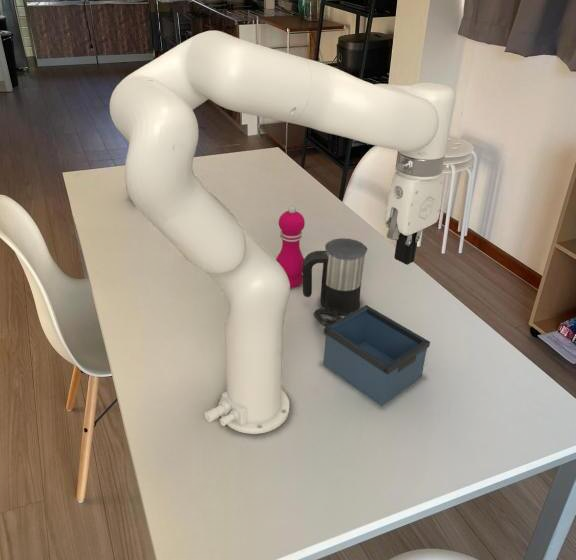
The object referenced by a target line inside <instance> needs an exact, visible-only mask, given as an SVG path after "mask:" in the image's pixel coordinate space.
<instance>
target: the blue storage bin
mask: <svg viewBox="0 0 576 560" xmlns="http://www.w3.org/2000/svg"><path fill="white" fill-rule="evenodd" d="M323 334H325V341H324V351H323V352H324V353H323V364H322V365H323V367H326V368H327V369H328V370H330V371H331V372H333V373H334V374H335V375H336V376H338V377H340V378H341V379H343V380H344V381H346V382H347V383H349V385H351V386H353V387H354V388H356V390H358V391H360V392H361V393H362V394H364V395H365V396H367V397H368V398H369V399H371V400H372V401H374V402H375V403H377V404H378V405H379V406H383V405H385V404H386V403H387V402H390V400H393V398H395V397H397V396H398V395H399V394H400V393H401V392H403V391H405V390H406V389H407V388H409V387H410V386H412V385H413V384H415V383H416V382H417V381H419V380H420V379H421V378H422V376H423V372H424V371H423V370H424V366H425V360H426V355H427V350H428V349H429V348H430V346H431V345H430V344H431V341H429V340H428V339H426V338H424V337H423V336H421V335H419V334H418V333H416V332H414V331H412V330H410V329H409V328H407V327H405V326H403V325H402V324H400V323H398V322H397V321H395V320H393V319H392V318H390V317H388V316H386V314H385V315H384V314H383V313H382V312H379V311H378V310H376V309H375V308H372V307H371V306H369V305H368V304H365V305H364V306H362V307H359V309H358V310H356V311H354V312H353V313H350V314H346V316H343V317H342V319H340V320H338V321H336V322H334V323H332V324H331V325H329V326H327V327H325V326H324V327H323Z"/></svg>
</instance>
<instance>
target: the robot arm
mask: <svg viewBox="0 0 576 560" xmlns="http://www.w3.org/2000/svg"><path fill="white" fill-rule="evenodd" d="M208 100H210V101H211V102H213V103H214V104H216V105H218V106H219V107H221V108H223V109H226V110H229V111H233V112H237V113H241V114H247V115H250V116H255V117H260V118H266V119H270V120H275V121H281V122H285V123H289V124H294V125H297V126H303V127H306V128H310V129H312V130H316V131H319V132H322V133H325V134H330V135H334V136H340V137H343V138H347V139H351V140H353V141H357V142H361V143H364V144H368V145H372V146H376V147H380V148H384V149H389V150H394V151H397V154H396V160H395V161H396V162H395V172H394V175H393V177H392V181H391V183H390V184H391V185H390V188H389V192H388V196H387V201H386V206H385V207H386V208H385V214H384V225H385V227H386V228H387V229H388V230H387V233H386V238H387V239H390V240H392V241H396V244H395V251H394V257H393V258H394V260H396V261H398V262H400V263H402V264H403V265H406V266H409V265H410V264H412V263H414V262H415V259H416V258H415V257H416V253H417V246H418V242H419V241H420V239H421V236H422V232H423V230H424V229H426V228H428V227H430V226H432V225H435V224H436V223H437V222H438V221H439V218H440V214H441V207H442V200H443V190H444V169H443V167H444V163H445V158H446V157H445V156H446V152H447V147H448V141H449V135H450V129H451V126H452V125H451V124H452V120H453V113H454V108H455V103H456V94H455V91H454V90H453V88H452V87H450V86H448V85H445V84H442V83H437V82H418V83H414V84H412V85H411V84H410V85H403V84H392V83H391V84H389V83H375V84H373V83H371V82H369V81H365V80H363V79H362V78H361V79H360V78H359V77H356V76H354V75H352V74H350V73H348V72H345V71H343V70H341V69H338V68H336V67H334V66H331V65H328V64H326V63H324V62H320V61H317V60H313V59H309V58H306V57H303V56H298V55H294V54H292V53H288V52H285V51H282V50H278V49H274V48H271V47H268V46H264V45H261V44H257V43H254V42H250V41H248V40H244V39H241V38H239V37H236V36H233V35H231V34H228V33H227V32H224V31H221V30H207V31H204V32H200V33H198V34H196V35H194V36H192V37H190V38H188V39H186V40H184V41H182V42H180V43H179V44H177V45H176V46H174V47H172V48H171V49H169V50H168V51H165V52H164V53H163V54H161V55H159V56H158V57H156V58H154V59H153V60H152V61H150V62H148V63H146V64H144V65H143V66H141V67H139V68H137V69H136V70H134V71H133V72H131V73H130V74H128V75H127V76H125V77H124V78H123V79H122V80H121V81H120V82H119V83H118V84H117V85H116V87H115V88H114V89H113V91H112V93H111V96H110V99H109V114H110V118H111V120H112V122H113V124H114V126H115V128H116V130H118V132H119V133H120V134H121V135H122V136H123V138H124V139H126V141H127V142H128V148H127V153H126V158H125V163H124V183H125V189H126V188H127V189H126V192H127V194H128V196H129V199H130V200H131V201H132V204H133V205H134V206H135V208H136V209H137V210H138V211H139V212H140V213H141V214H142V215H143V216H144V217H145V218H146V219H147V220H148V221H149V222H150V223H151V224H152V225H153V227H155V228H156V229H157V230H158V231H159V232H160V234H162V235H163V236H164V237H165V238H166V239H167V240H168V241H169V242H170V243H172V245H173V246H174V247H175V248H176V250H178V252H179V253H180V254H181V255H182V256H183V257H184V258H185V259H186V260H187V262H189V263H190V264H192V265H193V266H194V267H196V268H198V269H199V270H202V271H204V272H206V273H207V275H208V276H210V278H211V279H212V280H213V282H214V283H215V284H216V285H217V286H218V288H219V289H220V291H221V292H222V293H223V295H224V297H225V298H226V300H227V302H228V308H229V309H228V310H229V311H228V315H227V317H226V320H225V326H224V341H225V364H226V365H225V366H226V390H225V391H224V392H223V393H221V397H220V400H219V402H218V405H216V406H214V407H212V408H210V409H208V410H207V411H205V412H204V415H203V416H204V418H205V420H206V421H207V422H208V423H209V424H211V423H212V422H214V421H215V420H217V419H219V423H220V425H221V426H222V427H225V426H226V425H227V426H228V427H229V428H230V429H232V430H234V431H237V432H239V433H242V434H249V435H257V434H264V433H268V432H272V431H274V430H276V429H278V428H279V427H280V426H281V425H283V424H284V422H286V420H287V418H288V416H289V414H290V409H291V408H290V404H291V403H290V399H289V396H288V395H287V393H286V392H285V391H284V390H283V389H282V386H283V384H282V383H283V353H284V352H283V351H284V325H285V324H284V323H285V316H286V311H287V307H288V303H289V299H290V295H291V288H290V283H289V279H288V276H287V274H286V272H285V271H284V269H283V268H282V266H281V265H280V264H279V263H278V262H277V260H276V259H277V258H274V256H273V255H271V254H270V252H269V251H268V250H266V248H264V247H263V246H262V245H261V244H260V243H259V242H258V241H257V240H256V239H255V238H254V237H253V236H252V235H251V234H250V233H249V232H248V231H247V230H246V229H245V228H244V227H243V226H242V225H241V223H240V221H239V220H238V219H237V217H236V216H235V215H234V213H233V212H232V211H231V210H230V209H229V208H228V207H227V206H226V205H225V204H224V203H223V202H222V201H221V200H220V199H219V198H217V196H216V195H214V193H212V192H210V190H208V189H207V188H206V187H205V185H204V184H203V183H202V181H200V179H199V178H198V177H197V176H196V174H195V173H194V167H193V163H194V158H195V154H196V152H197V151H196V150H197V148H198V147H197V146H198V141H199V124H198V119H197V117H196V114H195V112H194V110H196V108H198V107H200V106H201V105H202V104H203V103H205V102H206V101H208Z"/></svg>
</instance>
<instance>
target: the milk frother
mask: <svg viewBox="0 0 576 560" xmlns="http://www.w3.org/2000/svg"><path fill="white" fill-rule="evenodd" d="M324 248H325V250H315V251H311V252H309V253H308V254H306V256H305V257H303V258H304V260H303V266H302V268H303V273H302V275H303V278H302V293H303V294H302V295H303V296H304V297H306V298H310V297H311V296H312V295H313V294H312V293H313V267H314V266H315V265H316V264H322V275H321V286H320V301H319V302H320V306H321V307H322V308H317V309H315V310H314V312H313V317H314V318H315V319H316V321H317V322H319V323H320V325H322V326H324V328H325V327H327V326H329V325H331V324H332V323H334V322H336V321H338V320H340V319H342V318H343V317H342V316H340V315H349V314H351V313H353V312H354V311H356V310H358V309H360V308H361V301H360V300H361V288H362V280H363V272H364V265H365V257H366V254H367V252H368V247H367V246H366V245H365V244H364V243H363V242H362V241H359V240H356V239H352V238H345V237H343V238H342V237H340V238H334V239H331V240H329V241H327V242H326V243H325V245H324ZM322 315H325V316H329V317H332V318H330V319H329V318H324V317H323V316H322Z"/></svg>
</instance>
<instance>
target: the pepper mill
mask: <svg viewBox="0 0 576 560" xmlns="http://www.w3.org/2000/svg"><path fill="white" fill-rule="evenodd" d="M305 221H306V220H305V217H304V216H303V214H302V213H301V212H298V211H297V208H296V206H294V205H290V206H289V207H288V209H287V211H284V212H283V213H282V214H281V215H280V216H279V218H278V227H279V229H280V239H281V241H282V242H281V243H282V244H281V245H282V246H281V249H280V251H279V253H278V255H277V256H276V258H275V259H276V260H277V262H278V263H279V264H280V265H281V266H282V268H283V269H284V271H285V272H286V274H287V276H288V279H289V283H290V289H291V288H292V289H293V288H297V287H299V286H301V285H302V284H303V268H302V266H303V260H304V258H305V257H304V255H303V254H302V251H301V248H300V241H301V240H302V238H303V230H304V228H305V226H306V225H305V224H306V223H305Z"/></svg>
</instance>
